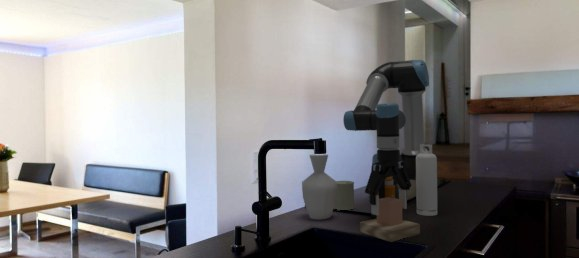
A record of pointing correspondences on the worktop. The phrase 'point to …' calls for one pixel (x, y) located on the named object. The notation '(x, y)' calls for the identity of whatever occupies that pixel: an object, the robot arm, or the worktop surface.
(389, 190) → the canister
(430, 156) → the bottle
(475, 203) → the worktop surface
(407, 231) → the plinth block
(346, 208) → the can
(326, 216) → the vase
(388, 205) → the tower block
